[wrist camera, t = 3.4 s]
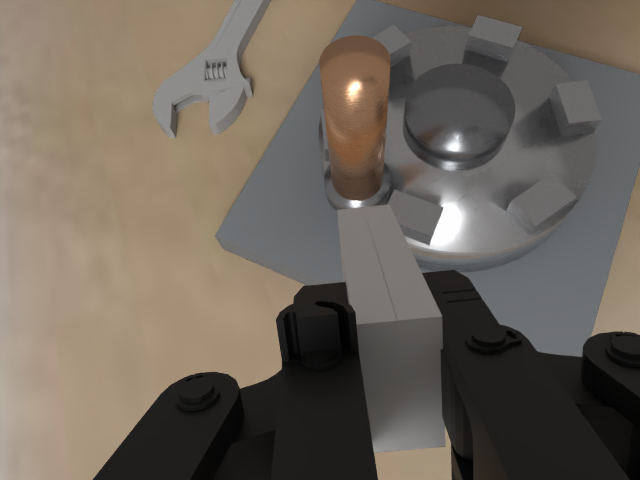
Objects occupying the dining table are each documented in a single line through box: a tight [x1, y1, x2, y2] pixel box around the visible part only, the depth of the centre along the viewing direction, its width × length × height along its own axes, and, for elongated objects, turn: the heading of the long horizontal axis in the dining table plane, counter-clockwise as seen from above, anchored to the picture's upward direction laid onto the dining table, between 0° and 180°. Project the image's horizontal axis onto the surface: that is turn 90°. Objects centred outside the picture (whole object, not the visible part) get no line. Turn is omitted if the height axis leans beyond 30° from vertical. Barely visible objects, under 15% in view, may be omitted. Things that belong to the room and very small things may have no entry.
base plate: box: [215, 0, 640, 357], centre depth 35 cm, size 22×22×2 cm
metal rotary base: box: [319, 15, 602, 272], centre depth 28 cm, size 17×16×13 cm
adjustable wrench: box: [153, 0, 271, 138], centre depth 42 cm, size 25×6×2 cm, turn 157°
